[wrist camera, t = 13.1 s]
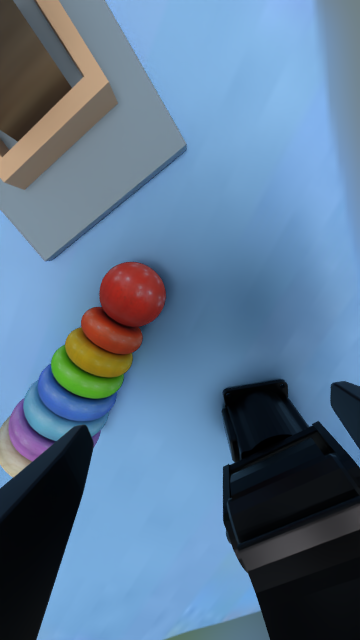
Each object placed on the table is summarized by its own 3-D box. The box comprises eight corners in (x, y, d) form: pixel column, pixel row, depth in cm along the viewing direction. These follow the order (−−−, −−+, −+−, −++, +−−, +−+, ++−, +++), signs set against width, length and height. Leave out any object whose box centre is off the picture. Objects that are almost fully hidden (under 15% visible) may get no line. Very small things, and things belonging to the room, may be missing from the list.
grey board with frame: (186, 150, 16) (187, 129, 13) (51, 260, 19) (28, 262, 16) (-4, -181, 12) (-63, -320, 9) (-150, 23, 14) (-232, -33, 11)
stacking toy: (90, 420, 25) (180, 284, 22) (83, 495, 18) (213, 313, 15) (13, 402, 22) (107, 237, 18) (-31, 487, 15) (107, 245, 12)
